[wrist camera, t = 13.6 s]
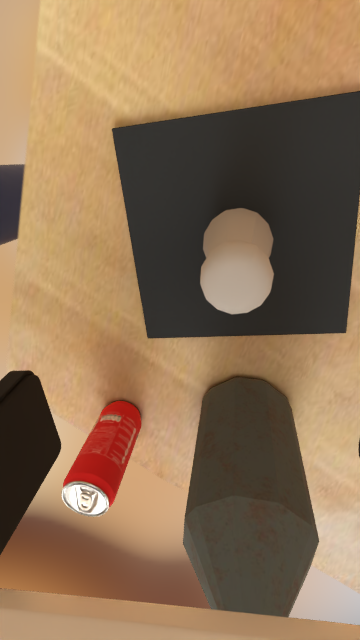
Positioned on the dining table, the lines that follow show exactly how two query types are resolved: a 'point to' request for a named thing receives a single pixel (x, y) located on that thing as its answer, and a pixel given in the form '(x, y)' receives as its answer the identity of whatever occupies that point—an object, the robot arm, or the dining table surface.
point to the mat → (252, 194)
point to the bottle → (249, 501)
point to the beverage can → (102, 460)
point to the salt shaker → (237, 261)
